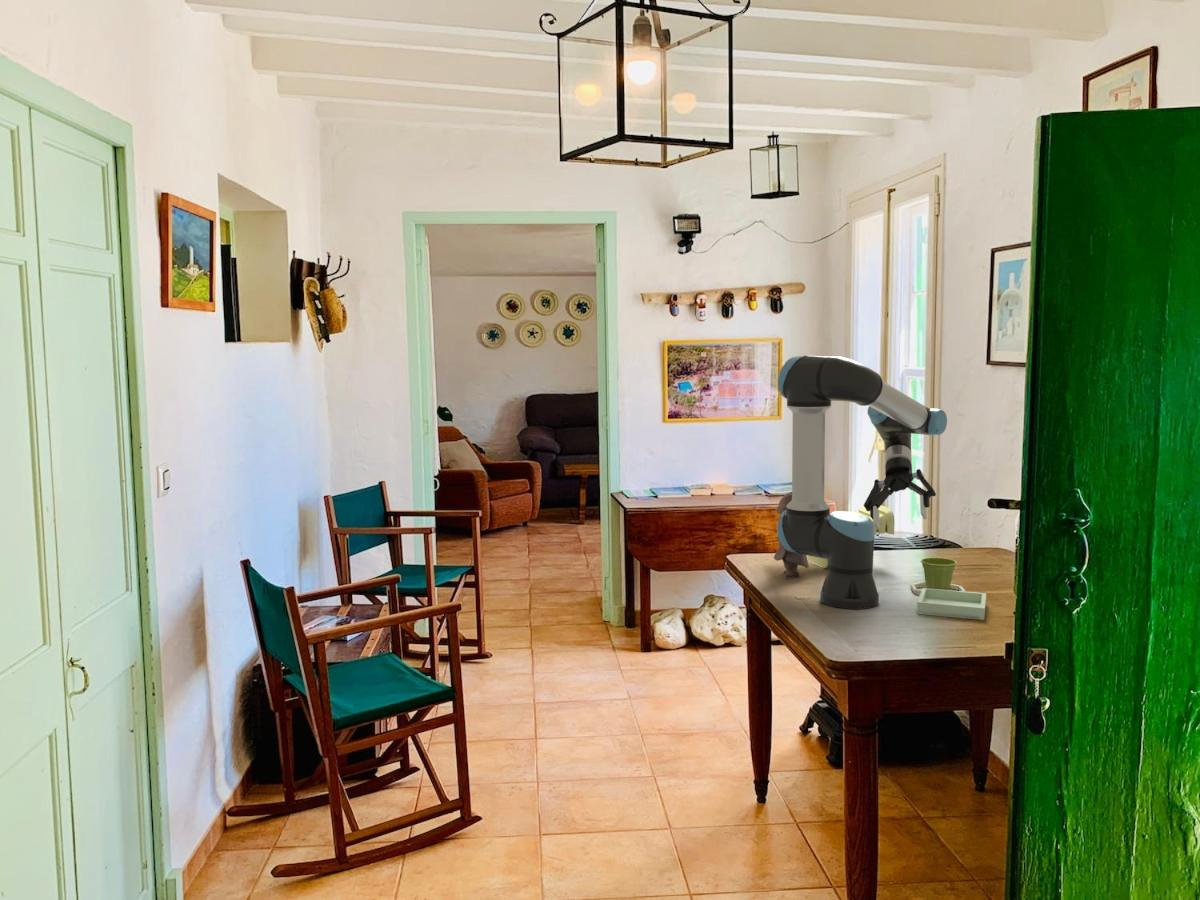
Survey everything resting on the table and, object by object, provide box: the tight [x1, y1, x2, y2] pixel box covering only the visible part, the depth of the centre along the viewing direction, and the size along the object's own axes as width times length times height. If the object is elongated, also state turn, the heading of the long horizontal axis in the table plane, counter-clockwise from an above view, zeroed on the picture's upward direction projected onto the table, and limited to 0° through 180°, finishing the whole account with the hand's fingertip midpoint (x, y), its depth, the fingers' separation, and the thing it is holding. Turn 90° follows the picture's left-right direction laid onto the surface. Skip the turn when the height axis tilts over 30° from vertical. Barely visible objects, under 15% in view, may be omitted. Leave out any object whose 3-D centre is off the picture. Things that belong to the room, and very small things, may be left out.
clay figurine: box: [773, 491, 809, 579], centre depth 301 cm, size 13×10×25 cm
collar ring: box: [910, 581, 967, 596], centre depth 284 cm, size 14×14×1 cm
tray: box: [916, 587, 987, 621], centre depth 266 cm, size 16×16×3 cm
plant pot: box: [920, 557, 958, 590], centre depth 284 cm, size 9×9×9 cm
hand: (899, 521), depth 288 cm, fingers open, 13 cm apart
